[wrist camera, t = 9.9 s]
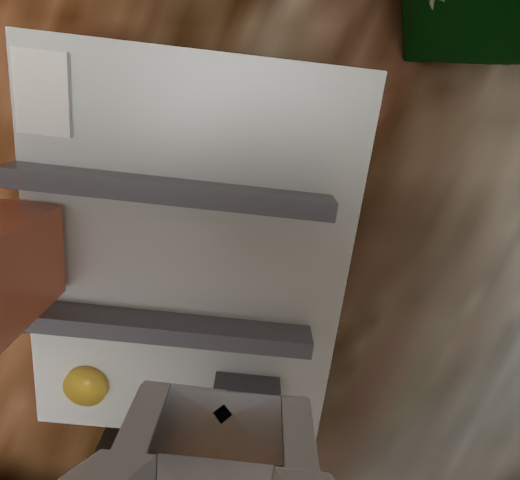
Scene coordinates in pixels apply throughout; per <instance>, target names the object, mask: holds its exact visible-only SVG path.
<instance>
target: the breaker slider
mask: <svg viewBox="0 0 520 480" xmlns="http://www.w3.org/2000/svg"><path fill="white" fill-rule="evenodd" d="M65 291H66V285H65V265H64V244H63V224H62V205H55V204H46V203H36V202H27V201H17V200H8V199H0V354H1V353H2V352H3V351H4V350H5V349H6V348H7V347H8V346H9V345H10V344H11V343H12V342H13V341H14V340H15V339H17V338H18V337H19V336H20V335H21V334H22V333H23V332H24V331H25V330H26V329H27V328H28V327H29V326H30V325H31V324H32V323H33V322H34V321H35V320H36V319H37V318H38V317H39V316H40V315H41V314H42V313H43V312H44V311H45V310H46V309H47V308H48V307H49V306H50V305H51V304H52V303H54V302H55V301H56V300H57V299H58V298H59V297H60V296H61V295H62V294H63V293H64V292H65Z"/></svg>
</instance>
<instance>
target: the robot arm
mask: <svg viewBox="0 0 520 480" xmlns="http://www.w3.org/2000/svg"><path fill="white" fill-rule="evenodd" d="M57 480H336V479H335V478H334V477H333V476H332V475H331V473H330V472H323V471H320V465H319V458H318V452H317V445H316V438H315V431H314V425H313V418H312V411H311V405H310V400H309V399H308V397H302V396H289V395H280V396H278V395H268V394H258V393H248V392H238V391H227V390H222V389H214V388H206V387H199V386H191V385H183V384H175V383H173V384H171V383H165V382H156V381H148V380H145V381H144V382H143V383H142V384H141V385H140V386H139V389H138V391H137V393H136V395H135V397H134V399H133V402H132V404H131V406H130V408H129V410H128V412H127V415H126V417H125V419H124V421H123V423H122V425H121V428H120V430H119V432H118V434H117V436H116V438H115V441H114V443H113V445H112V447H111V449H110V450H106V449H100V450H99V451H97V452H96V453H95V454H93V455H92V456H90V457H89V458H87V459H86V460H84V461H83V462H81V463H80V464H79V465H77V466H76V467H74V468H73V469H71V470H70V471H68V472H67V473H65V474H64V475H63V476H61V477H60V478H58V479H57Z"/></svg>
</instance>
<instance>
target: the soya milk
mask: <svg viewBox="0 0 520 480" xmlns="http://www.w3.org/2000/svg"><path fill="white" fill-rule="evenodd" d="M401 8H402V31H403V55H404V61H424V62H445V63H468V64H501V65H509V64H520V0H401Z"/></svg>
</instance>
